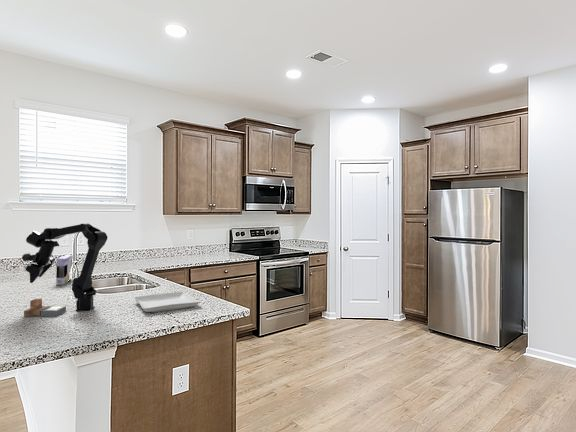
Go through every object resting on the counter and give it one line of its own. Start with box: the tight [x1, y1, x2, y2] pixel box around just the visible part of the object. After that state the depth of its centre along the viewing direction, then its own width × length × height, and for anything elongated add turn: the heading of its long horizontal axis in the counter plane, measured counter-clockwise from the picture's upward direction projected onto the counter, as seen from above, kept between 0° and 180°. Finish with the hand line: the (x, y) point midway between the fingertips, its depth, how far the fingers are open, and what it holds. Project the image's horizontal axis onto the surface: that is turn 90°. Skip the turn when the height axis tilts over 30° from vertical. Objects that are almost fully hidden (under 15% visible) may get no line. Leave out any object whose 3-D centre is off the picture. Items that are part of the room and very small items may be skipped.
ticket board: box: [40, 305, 67, 317], centre depth 173 cm, size 7×8×3 cm
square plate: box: [133, 291, 200, 313], centre depth 190 cm, size 27×27×4 cm
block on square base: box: [23, 298, 50, 317], centre depth 173 cm, size 7×8×6 cm
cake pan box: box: [55, 254, 74, 286], centre depth 248 cm, size 19×5×18 cm, turn 14°
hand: (35, 279), depth 186 cm, fingers open, 9 cm apart
